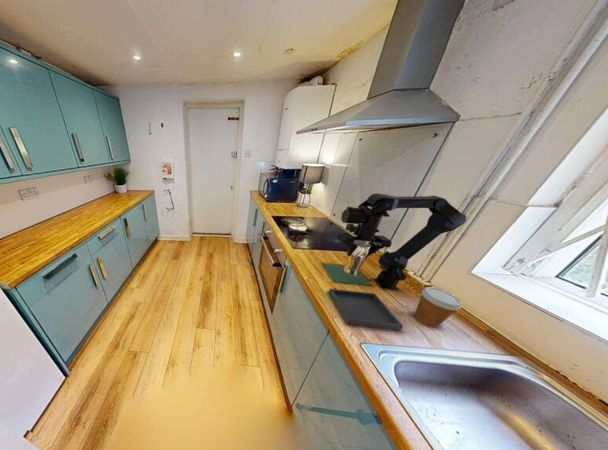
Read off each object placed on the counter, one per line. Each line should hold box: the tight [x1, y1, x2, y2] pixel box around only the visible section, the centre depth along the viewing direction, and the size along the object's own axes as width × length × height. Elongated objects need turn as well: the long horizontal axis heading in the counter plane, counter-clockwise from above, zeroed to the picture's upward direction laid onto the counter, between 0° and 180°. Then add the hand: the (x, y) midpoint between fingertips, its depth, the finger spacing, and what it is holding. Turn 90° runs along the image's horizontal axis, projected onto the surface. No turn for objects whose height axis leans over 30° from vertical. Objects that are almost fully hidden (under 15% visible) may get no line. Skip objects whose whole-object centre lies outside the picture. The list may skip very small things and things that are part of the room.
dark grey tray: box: [327, 288, 404, 332], centre depth 76 cm, size 18×16×2 cm
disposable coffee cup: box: [413, 286, 463, 328], centre depth 71 cm, size 10×10×12 cm
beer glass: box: [343, 241, 371, 276], centre depth 88 cm, size 7×7×15 cm
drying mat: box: [322, 263, 373, 287], centre depth 97 cm, size 16×14×1 cm
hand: (356, 256), depth 88 cm, fingers closed on beer glass, 7 cm apart
